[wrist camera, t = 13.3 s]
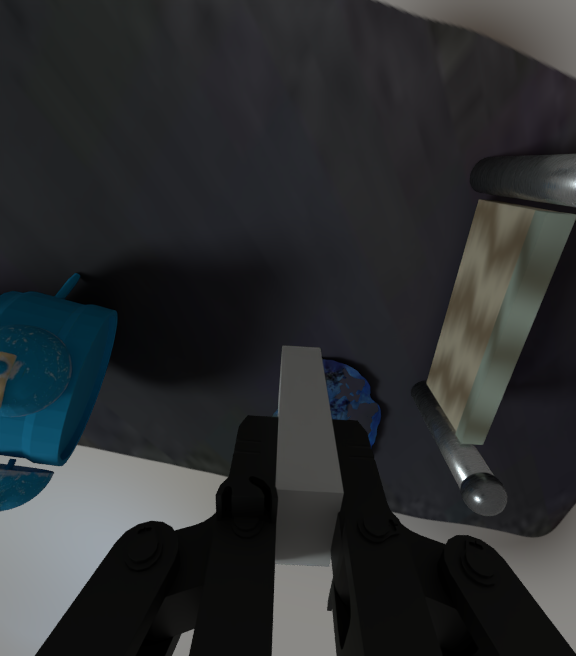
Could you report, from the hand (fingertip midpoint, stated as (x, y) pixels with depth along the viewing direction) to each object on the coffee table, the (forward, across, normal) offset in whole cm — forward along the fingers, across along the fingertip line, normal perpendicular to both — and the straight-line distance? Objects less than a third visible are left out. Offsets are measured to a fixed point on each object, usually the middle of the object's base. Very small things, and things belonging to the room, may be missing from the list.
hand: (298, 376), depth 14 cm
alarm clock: (+23, -22, -11) cm, 33 cm away
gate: (+21, +18, -4) cm, 28 cm away
